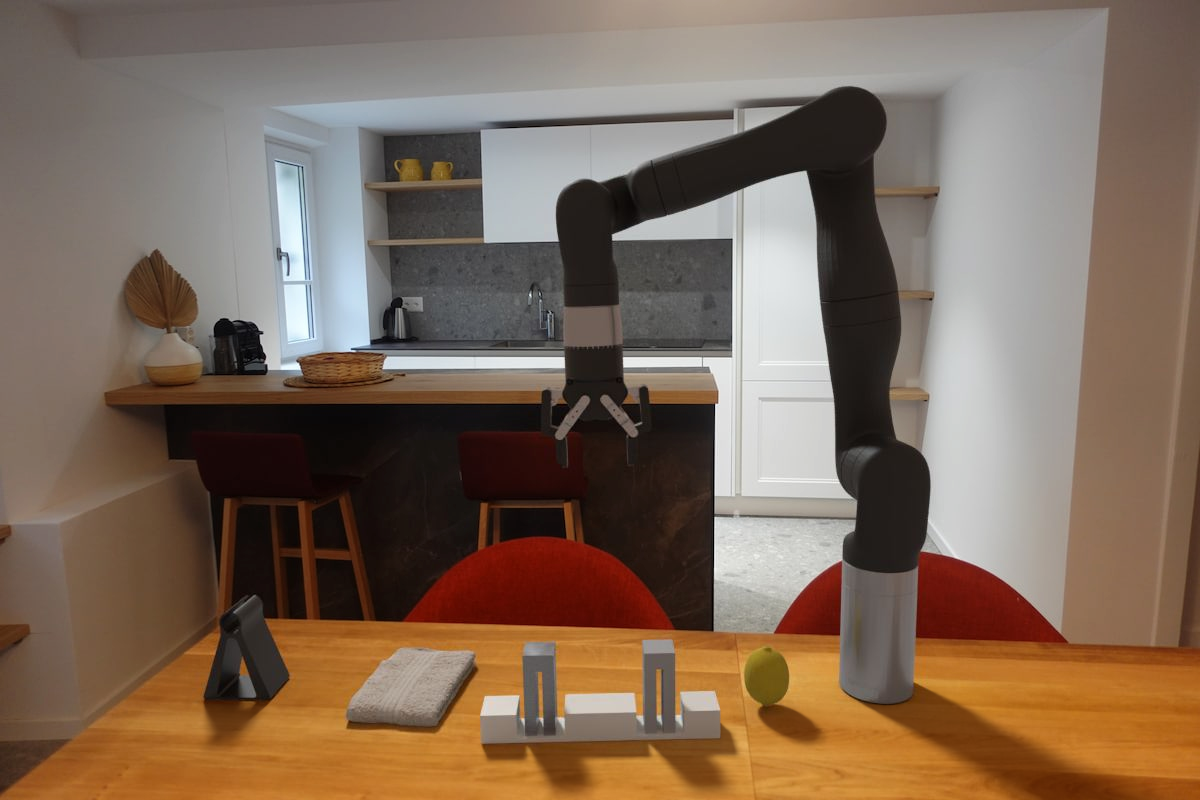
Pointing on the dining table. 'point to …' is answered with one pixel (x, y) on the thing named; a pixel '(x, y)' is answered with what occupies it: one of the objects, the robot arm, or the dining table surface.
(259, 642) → the phone stand
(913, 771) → the dining table surface
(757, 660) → the lemon
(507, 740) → the rail
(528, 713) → the grey slotted block
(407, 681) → the washcloth
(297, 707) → the dining table surface
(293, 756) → the dining table surface
